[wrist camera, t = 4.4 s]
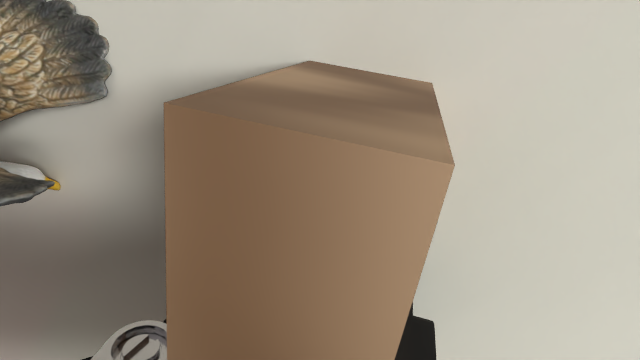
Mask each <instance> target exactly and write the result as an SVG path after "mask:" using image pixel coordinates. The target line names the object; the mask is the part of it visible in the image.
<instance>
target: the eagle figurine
mask: <svg viewBox="0 0 640 360" xmlns="http://www.w3.org/2000/svg"><path fill="white" fill-rule="evenodd" d="M75 11H76V10H75V6H74V5H73V4H72V3H71V2H69V1H66V0H52V1H49V2H46V1H45V0H0V122H1V121H3V120H5V119H8V118H11V117H13V116H15V115H17V114H20V113H23V112H26V111H29V110H34V109H38V108H50V107H63V106H69V105H71V104H82V103H89V102H92V101H95V100H98V99H102V98H104V97H106V96H107V93H108V91H107V88H106V86H105V84H104V81H105V80H106V79H107V78H108V76H109V75H110V74H111V67H110V65H109V64H108V62H107V61H106V60H105V59H104V57H105V56H106V55H107V53H108V51H109V43H108V40H107V39H106V38H105V37H103V36H101V35H99V32H98V30H99V28H98V24H97V22H96V21H95V20H94V19H92V18H91V17H89V16H82V15H78V14H76V13H75ZM60 187H61V186H60V184H59V183H58V182H57V181H54V180H52V179H49V178H47V177H46V176H44V175H43V174H42V172H41V171H40V170H39V169H37V168H36V167H32V166H29V165H24V164H17V163H11V162H1V161H0V206H4V205H9V204H13V203H24V202H26V201H29V200H31V199H32V198H33V197H34V196H36V195H38V194H40V193H42V192H44V191H46V190H47V189H53V190H60Z"/></svg>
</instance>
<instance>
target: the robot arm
mask: <svg viewBox="0 0 640 360" xmlns="http://www.w3.org/2000/svg"><path fill="white" fill-rule="evenodd" d="M82 360H167V319H165V320H164V322H160V321H154V320H145V321H137V322H134V323H131V324H128V325H126V326H124V327H122V328H121V329H119V330H117V331H116V332H115V333H114V334H113V335H112V336H111V337H109V338H108V340H107V341H106V342H105V343H104V344H103V346H102V347H101V348H100V349H99V350H98V351H97V353H96V354H95V355H94V356H92V357H89V358H86V359H82ZM395 360H436V346H435V328H434V323H433V321H430V320H427V319H423V318H420V317H416V316H413V302H412V305H411V308H410V311H409V315H408V318H407V321H406V324H405V327H404V331H403V334H402V337H401V340H400V344H399V347H398V350H397V353H396V357H395Z"/></svg>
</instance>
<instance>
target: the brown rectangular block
mask: <svg viewBox="0 0 640 360" xmlns="http://www.w3.org/2000/svg"><path fill="white" fill-rule="evenodd" d="M164 157H165V238H166V319H167V360H395V357H396V353H397V350H398V347H399V344H400V340H401V337H402V334H403V331H404V327H405V324H406V321H407V318H408V315H409V311H410V308H411V305H412V302H413V298H414V295H415V292H416V289H417V285H418V282H419V279H420V276H421V273H422V269H423V266H424V263H425V260H426V256H427V253H428V250H429V247H430V243H431V240H432V237H433V234H434V231H435V227H436V224H437V221H438V218H439V214H440V211H441V208H442V205H443V201H444V198H445V195H446V192H447V189H448V185H449V182H450V179H451V176H452V172H453V169H454V166H455V164H454V161H453V157H452V153H451V150H450V146H449V142H448V139H447V135H446V132H445V128H444V124H443V121H442V117H441V114H440V110H439V106H438V103H437V99H436V95H435V92H434V88H433V85H432V83H428V82H423V81H417V80H412V79H407V78H401V77H396V76H390V75H385V74H379V73H374V72H368V71H363V70H357V69H352V68H347V67H341V66H336V65H330V64H325V63H319V62H314V61H307V62H303V63H300V64H296V65H293V66H289V67H286V68H282V69H279V70H276V71H272V72H269V73H265V74H262V75H258V76H255V77H251V78H248V79H244V80H241V81H237V82H234V83H230V84H227V85H224V86H220V87H217V88H213V89H210V90H206V91H203V92H199V93H196V94H192V95H189V96H185V97H182V98H178V99H175V100H172V101H168V102H165V103H164Z"/></svg>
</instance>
